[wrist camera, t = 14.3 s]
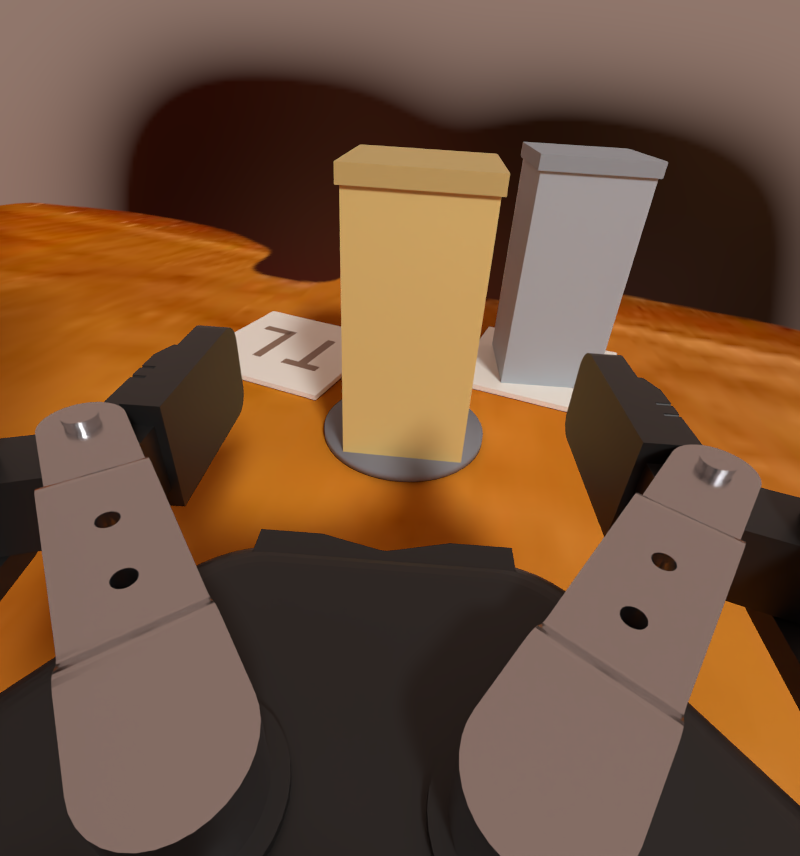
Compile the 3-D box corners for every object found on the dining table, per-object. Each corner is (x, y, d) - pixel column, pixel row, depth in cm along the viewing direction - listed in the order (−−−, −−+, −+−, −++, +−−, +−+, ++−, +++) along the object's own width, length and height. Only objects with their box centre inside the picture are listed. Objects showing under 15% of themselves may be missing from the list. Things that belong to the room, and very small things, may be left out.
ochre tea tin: (339, 453, 24) (333, 161, 17) (358, 390, 28) (360, 144, 21) (464, 465, 23) (510, 173, 16) (462, 400, 28) (497, 153, 21)
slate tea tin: (498, 383, 30) (541, 153, 23) (489, 342, 35) (523, 141, 28) (596, 390, 30) (668, 161, 23) (574, 348, 35) (628, 148, 28)
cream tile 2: (449, 382, 30) (450, 378, 30) (488, 330, 37) (489, 326, 37) (605, 421, 28) (606, 416, 28) (615, 357, 35) (617, 353, 35)
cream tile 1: (187, 363, 31) (186, 359, 31) (273, 314, 38) (273, 311, 37) (315, 400, 28) (315, 395, 28) (383, 340, 35) (383, 336, 35)
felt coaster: (293, 451, 24) (292, 444, 24) (367, 379, 30) (368, 373, 30) (452, 502, 22) (453, 495, 21) (498, 413, 28) (499, 407, 28)
